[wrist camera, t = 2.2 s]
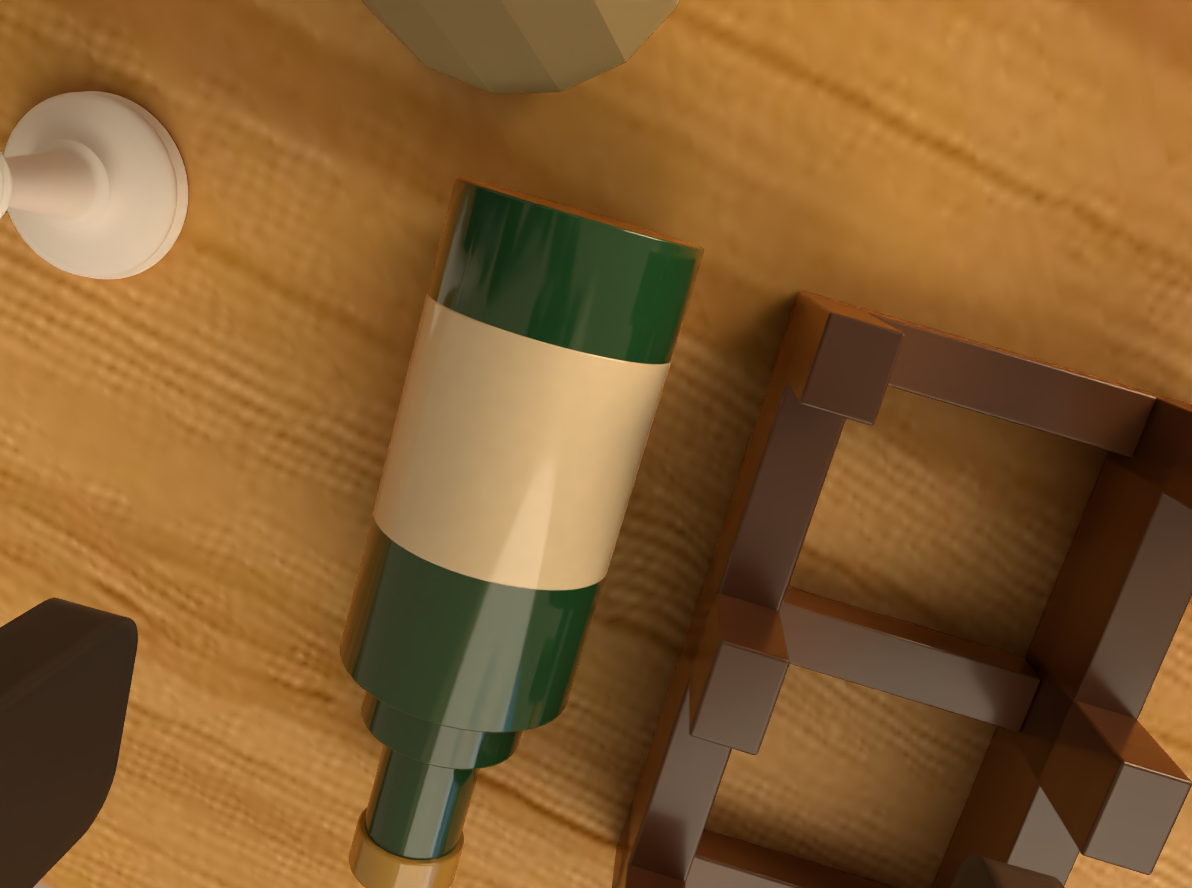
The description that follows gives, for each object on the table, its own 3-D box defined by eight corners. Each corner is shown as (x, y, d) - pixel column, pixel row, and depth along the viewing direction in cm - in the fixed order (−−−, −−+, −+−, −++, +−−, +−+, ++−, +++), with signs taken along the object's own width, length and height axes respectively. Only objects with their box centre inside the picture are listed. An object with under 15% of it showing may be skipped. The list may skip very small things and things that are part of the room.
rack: (615, 852, 32) (596, 1009, 26) (798, 289, 28) (830, 311, 22) (961, 958, 32) (1029, 1144, 25) (1194, 405, 28) (1342, 461, 22)
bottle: (482, 180, 28) (427, 171, 22) (704, 245, 28) (707, 253, 22) (331, 777, 32) (250, 902, 26) (525, 837, 32) (487, 976, 26)
